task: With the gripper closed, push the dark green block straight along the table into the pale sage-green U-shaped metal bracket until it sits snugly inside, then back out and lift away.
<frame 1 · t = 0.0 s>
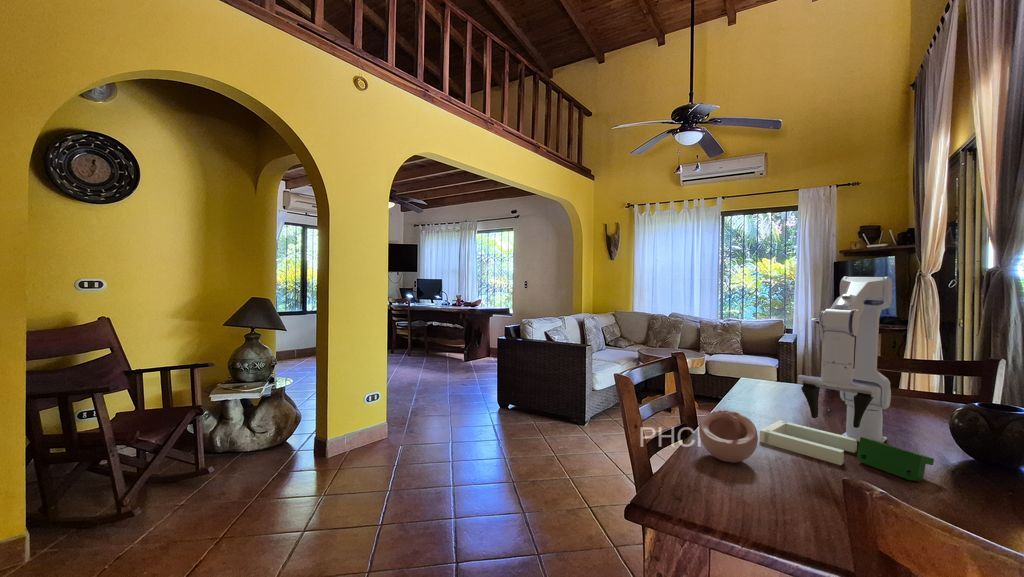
hand: (834, 421, 93), 10 cm above the table, tool pointing down, fingers open, 7 cm apart
pink round bowl: (726, 460, 95), on the table
dark green block: (894, 471, 92), on the table
bracket: (809, 446, 105), on the table
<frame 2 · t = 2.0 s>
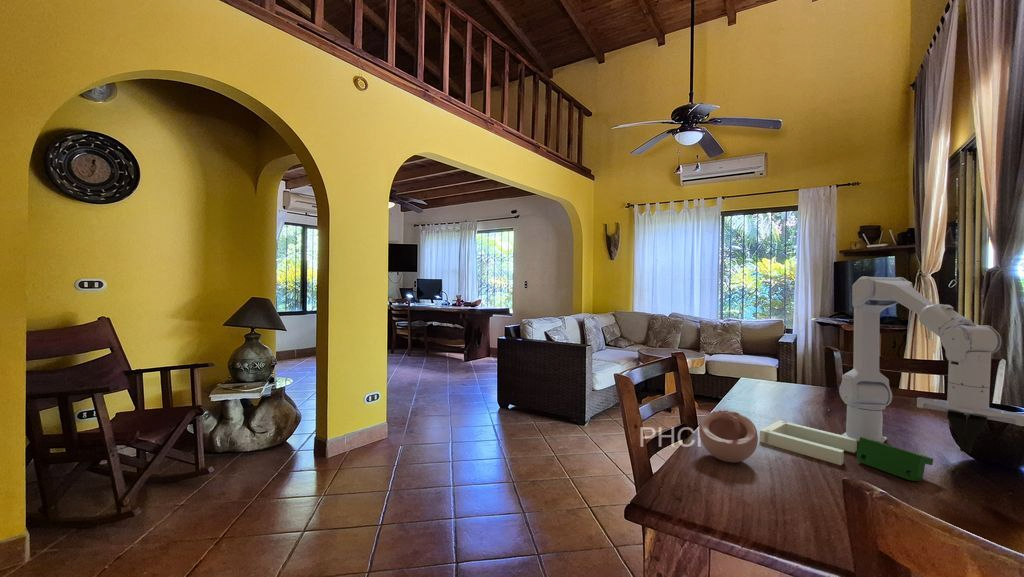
hand: (965, 450, 84), 8 cm above the table, tool pointing down, fingers closed
nothing on the table moved.
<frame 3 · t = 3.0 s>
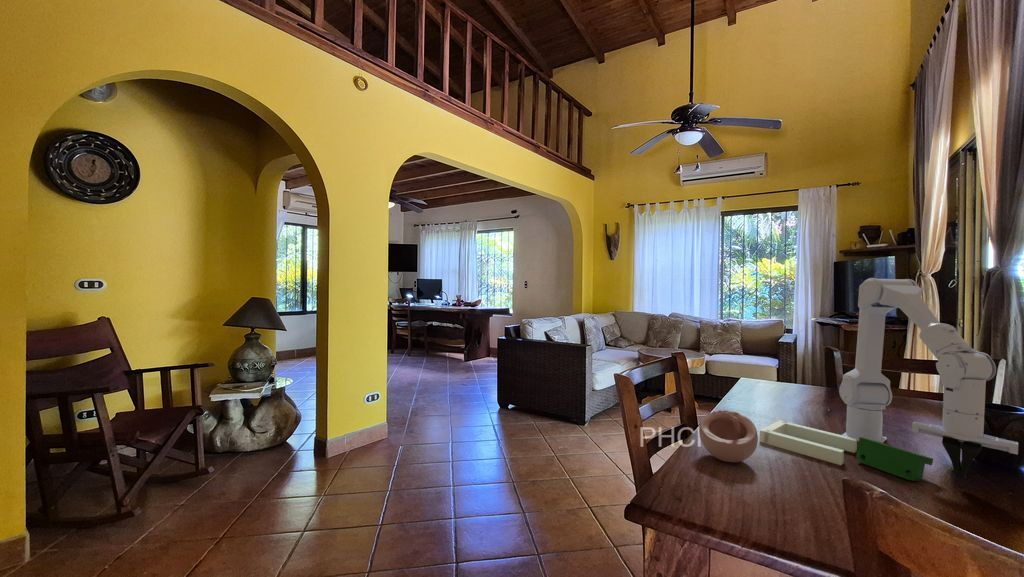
hand: (960, 476, 84), 2 cm above the table, tool pointing down, fingers closed
nothing on the table moved.
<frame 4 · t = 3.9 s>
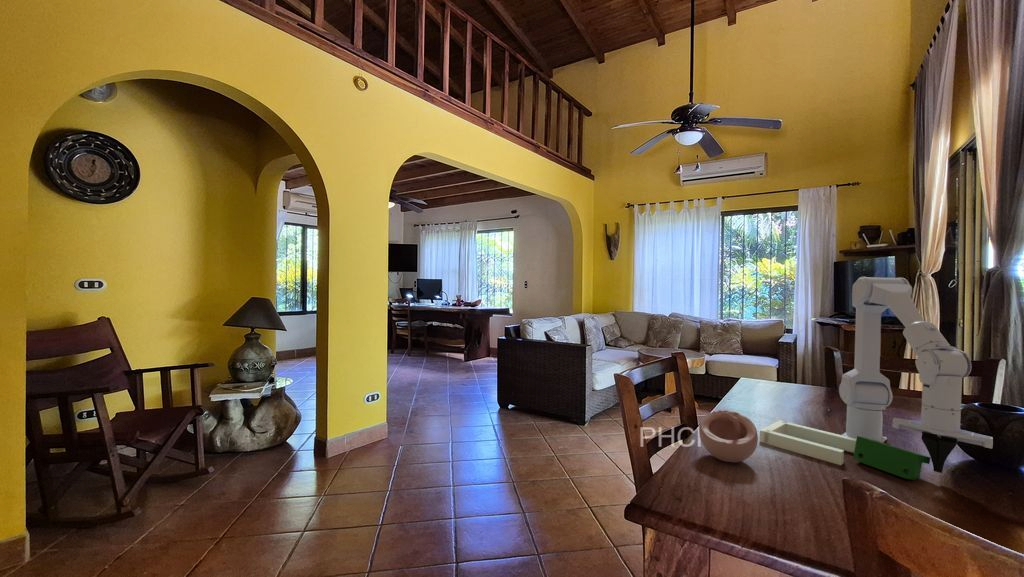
hand: (938, 470, 87), 2 cm above the table, tool pointing down, fingers closed
dark green block: (890, 470, 92), on the table, touching gripper
everything else where it was.
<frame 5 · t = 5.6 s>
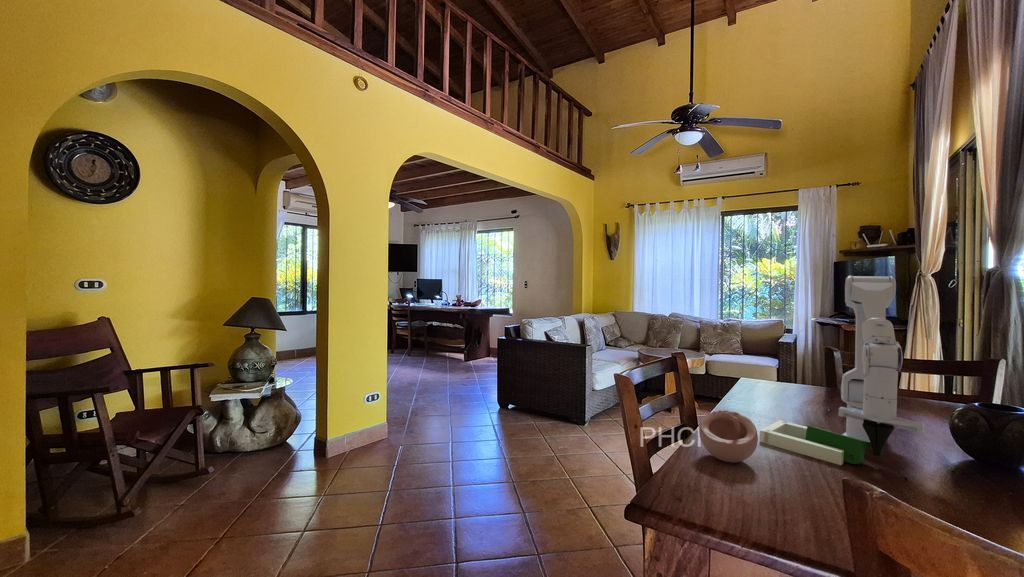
hand: (877, 455, 94), 2 cm above the table, tool pointing down, fingers closed
dark green block: (837, 456, 99), on the table, touching gripper
everything else where it was.
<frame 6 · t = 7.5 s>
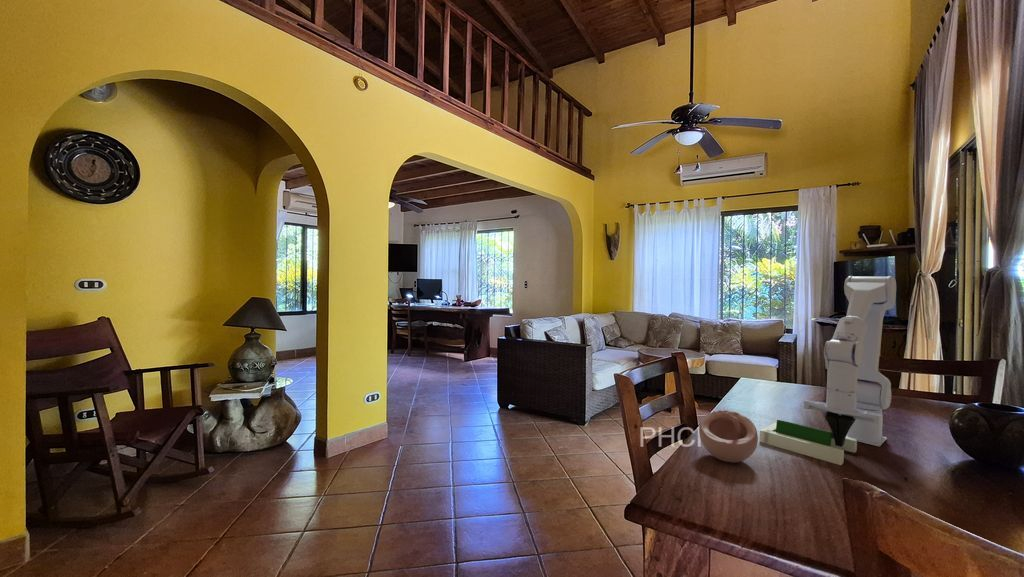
hand: (839, 445, 100), 2 cm above the table, tool pointing down, fingers closed
dark green block: (804, 447, 104), on the table, touching bracket, gripper
everything else where it was.
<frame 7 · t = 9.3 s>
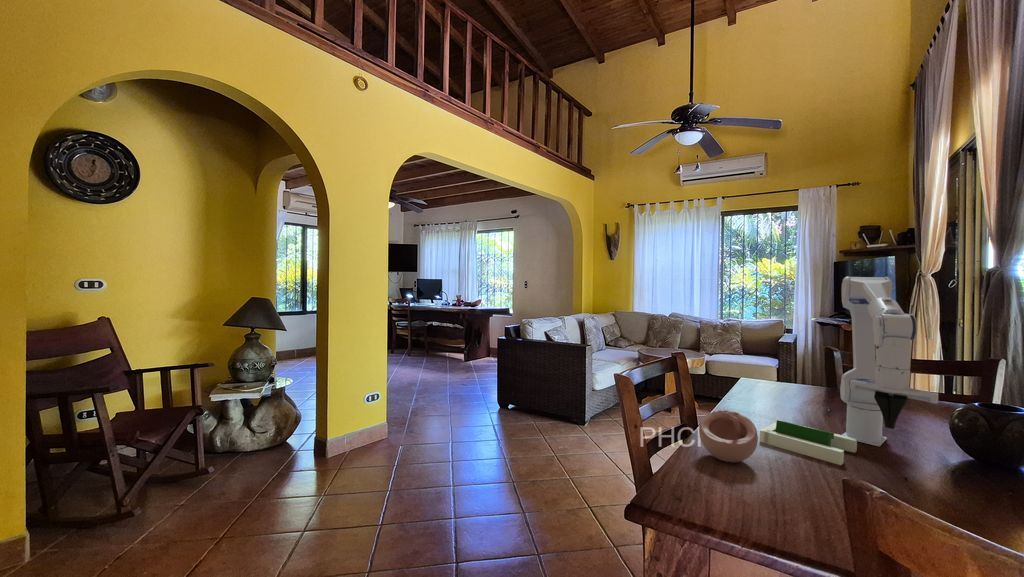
hand: (890, 427, 93), 9 cm above the table, tool pointing down, fingers closed
dark green block: (803, 448, 104), on the table
everything else where it was.
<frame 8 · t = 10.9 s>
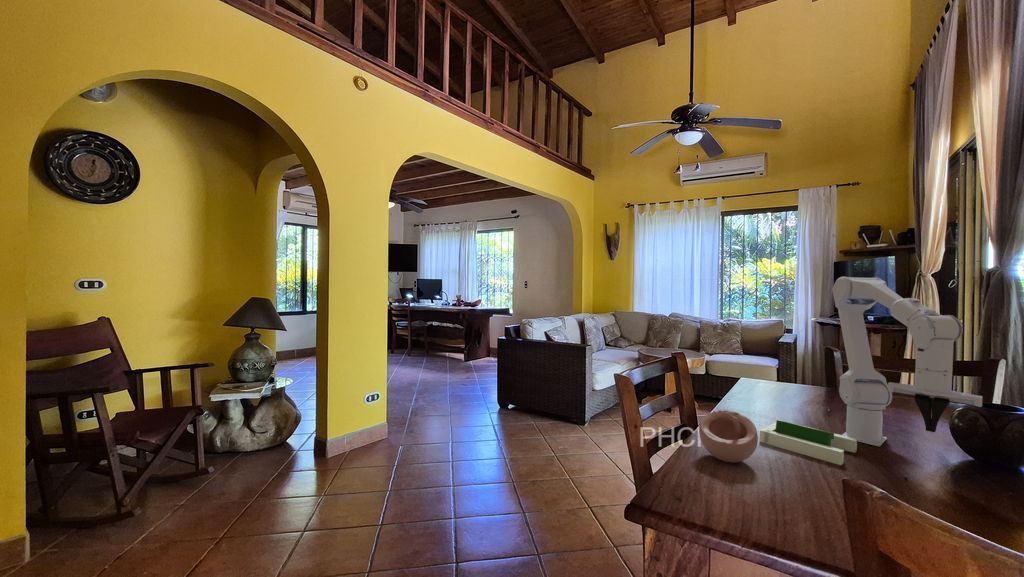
hand: (930, 430, 91), 9 cm above the table, tool pointing down, fingers closed
nothing on the table moved.
at the end: dark green block 1.6 cm off-centre on the bracket, point 0.0 cm above the bracket's base; dark green block tilted 0° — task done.
